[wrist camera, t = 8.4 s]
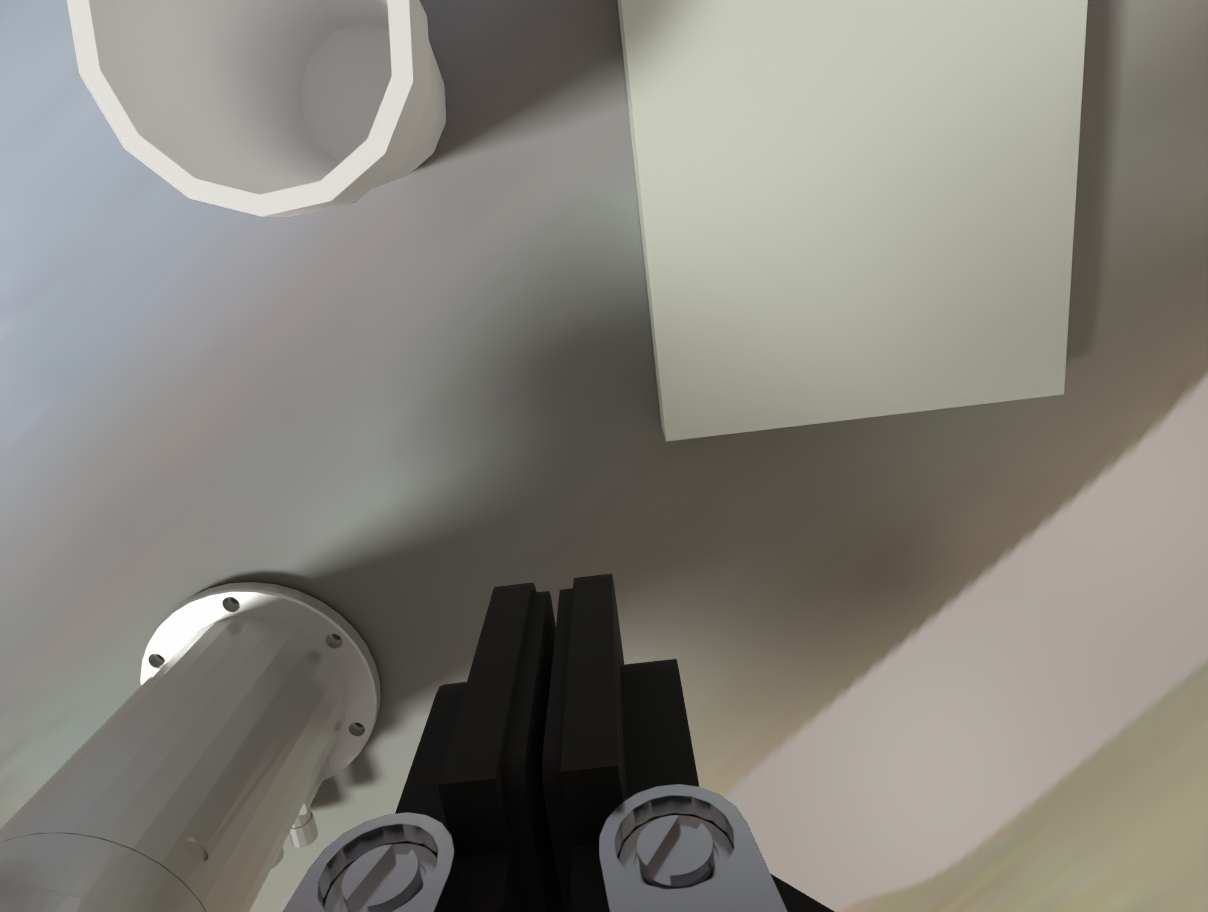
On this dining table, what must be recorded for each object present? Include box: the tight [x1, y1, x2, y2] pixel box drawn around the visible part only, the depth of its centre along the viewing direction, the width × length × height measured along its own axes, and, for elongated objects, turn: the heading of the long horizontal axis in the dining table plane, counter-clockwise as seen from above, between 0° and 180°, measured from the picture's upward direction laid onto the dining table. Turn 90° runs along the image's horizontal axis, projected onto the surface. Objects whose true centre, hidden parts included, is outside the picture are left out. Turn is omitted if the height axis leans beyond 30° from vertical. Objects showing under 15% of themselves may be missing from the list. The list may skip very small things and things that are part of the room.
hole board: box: [617, 0, 1088, 441], centre depth 32 cm, size 30×18×3 cm, turn 7°
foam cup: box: [67, 0, 446, 217], centre depth 27 cm, size 10×9×13 cm
